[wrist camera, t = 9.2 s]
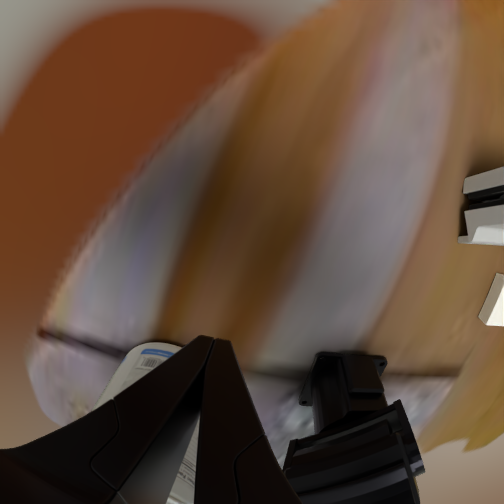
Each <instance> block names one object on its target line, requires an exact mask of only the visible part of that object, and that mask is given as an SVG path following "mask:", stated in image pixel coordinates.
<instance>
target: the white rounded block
mask: <svg viewBox="0 0 504 504" xmlns="http://www.w3.org/2000/svg"><path fill="white" fill-rule="evenodd" d="M463 194H468V199H472V200H478V201H483V202H484V203H478V204H473V205H469V210H468V211H464V212H465V218H466V224H467V231H468V236H459V237H458V243H466V244H484V245H501V246H504V167H501V168H497V169H494V170H491V171H487V172H484V173H481V174H477V175H474V176H471V177H467V178H465V181H464V186H463Z"/></svg>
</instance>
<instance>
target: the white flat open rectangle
mask: <svg viewBox="0 0 504 504" xmlns="http://www.w3.org/2000/svg"><path fill="white" fill-rule="evenodd" d="M478 317H479V318H480V319H481V320H482V322H483V323H484V324H485V325H493V326H504V275H503V274H499V273H496V276H495V278H494V281H493V283H492V286H491V288H490V291H489V293H488V296H487V298H486V300H485V302H484V305H483V307H482V309H481V311H480V313H479V316H478Z"/></svg>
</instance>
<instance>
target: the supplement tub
mask: <svg viewBox="0 0 504 504" xmlns="http://www.w3.org/2000/svg"><path fill="white" fill-rule="evenodd" d="M180 349H181V347H179V346H176V345H172V344H167V343H160V342H153V343H145V344H141V345H139V346H137V347H135V348H133V349H132V350H131V351H130V352H129V353H128V354H127V355H126V357H125V358H124V360H123V361H122V362H121V364H120V366H119V367H118V369H117V370H116V372H115V373H114V375H113V377H112V378H111V380H110V381H109V383H108V385H107V386H106V388H105V389H104V391H103V393H102V394H101V396H100V397H99V399H98V401H97V402H96V404H95V406H94V407H93V409H92V411H93V410H95V409H96V408H98V407H99V406H101V405H102V404H104V403H105V402H107V401H108V400H110V399H113V397H114V396H116V395H117V394H119V393H120V392H121V391H123V390H124V389H126V388H127V387H129V386H130V385H131V384H133V383H134V382H136V381H137V380H139V379H140V378H141V377H143V376H144V375H146V374H147V373H148V372H150V371H151V370H153V369H154V368H155V367H157V366H158V365H159V364H161V363H162V362H164V361H165V360H166V359H168V358H169V357H170V356H172V355H173V354H175V353H176V352H177V351H179V350H180ZM199 421H200V417H199V420H198V422H197V425H196V428H195V430H194V433H193V435H192V438H191V441H190V443H189V446H188V448H187V451H186V454H185V456H184V459H183V461H182V464H181V466H180V469H179V472H178V474H177V477H176V479H175V482H174V484H173V487H172V489H171V492H170V494H169V497H168V500H167V502H166V504H194V489H195V473H196V458H197V445H198V433H199Z"/></svg>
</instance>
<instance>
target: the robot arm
mask: <svg viewBox="0 0 504 504" xmlns="http://www.w3.org/2000/svg"><path fill="white" fill-rule="evenodd" d="M323 357H324V358H323ZM320 358H323V359H320ZM381 362H382V363H381ZM386 365H387V360H386V358H385V357H376V356H362V355H349V354H338V353H328V352H320V353H318V354H317V355H316V358H315V360H314V363H313V365H312V368H311V371H310V373H309V376H308V378H307V381H306V383H305V386H304V388H303V391H302V393H301V395H300V398H299V404H300V405H302V406H312V408H313V419H314V430H315V434H314V435H311V436H308V437H305V438H301V439H294V440H290V443H289V447H288V451H287V455H286V458H285V462H284V466H283V469H281V468H280V466H279V464H278V462H277V459H276V457H275V455H274V453H273V451H272V449H271V446H270V444H269V441H268V439H267V437H266V435H265V432H264V429H263V427H262V424H261V422H260V419H259V417H258V414H257V412H256V409H255V406H254V404H253V401H252V399H251V396H250V393H249V391H248V388H247V385H246V382H245V380H244V377H243V374H242V372H241V369H240V366H239V363H238V360H237V358H236V355H235V352H234V349H233V346H232V343H231V341H229V340H225V339H219V338H217V339H214V338H213V337H209V336H204V335H199V336H198V337H196V338H195V339H194V340H192V341H191V342H190V343H188V344H187V345H185V346H184V347H183V348H181V349H180V350H179V351H177V352H176V353H175V354H173V355H172V356H170V357H169V358H168V359H166V360H165V361H164V362H162V363H161V364H159V365H158V366H157V367H155V368H154V369H153V370H151V371H150V372H148V373H147V374H146V375H144V376H143V377H141V378H140V379H139V380H137V381H136V382H134V383H133V384H131V385H130V386H129V387H127V388H126V389H124V390H123V391H121V392H120V393H119V394H117V395H116V396H114V397H113V399H110V400H108V401H107V402H105V403H104V404H102V405H101V406H99V407H98V408H96V409H95V410H93V411H91V412H90V413H88V414H87V415H85V416H83V417H81V418H80V419H78V420H76V421H74V422H72V423H70V424H68V425H66V426H64V427H62V428H60V429H58V430H56V431H54V432H52V433H49V434H47V435H45V436H43V437H41V438H38V439H36V440H34V441H32V442H29V443H27V444H24V445H22V446H19V447H15V448H9V449H0V504H166V502H167V500H168V497H169V494H170V492H171V489H172V487H173V484H174V482H175V479H176V477H177V474H178V472H179V469H180V466H181V464H182V461H183V459H184V456H185V454H186V451H187V448H188V446H189V443H190V441H191V438H192V435H193V433H194V430H195V428H196V425H197V422H198V420H199V417H200V421H199V433H198V445H197V458H196V473H195V489H194V504H420V497H419V489H418V486H417V482H416V478H415V477H416V476H418V475H421V474H423V473H425V469H424V465H423V461H422V458H421V455H420V452H419V449H418V446H417V443H416V440H415V437H414V434H413V431H412V429H411V426H410V423H409V421H408V418H407V415H406V413H405V410H404V408H403V405H402V403H401V400H400V399H399V400H397V401H395V402H393V404H391V405H389V406H388V404H387V401H386V398H385V395H384V387H383V385H382V382H381V379H380V376H381V374H382V373H383V371H384V369H385V367H386Z"/></svg>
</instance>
